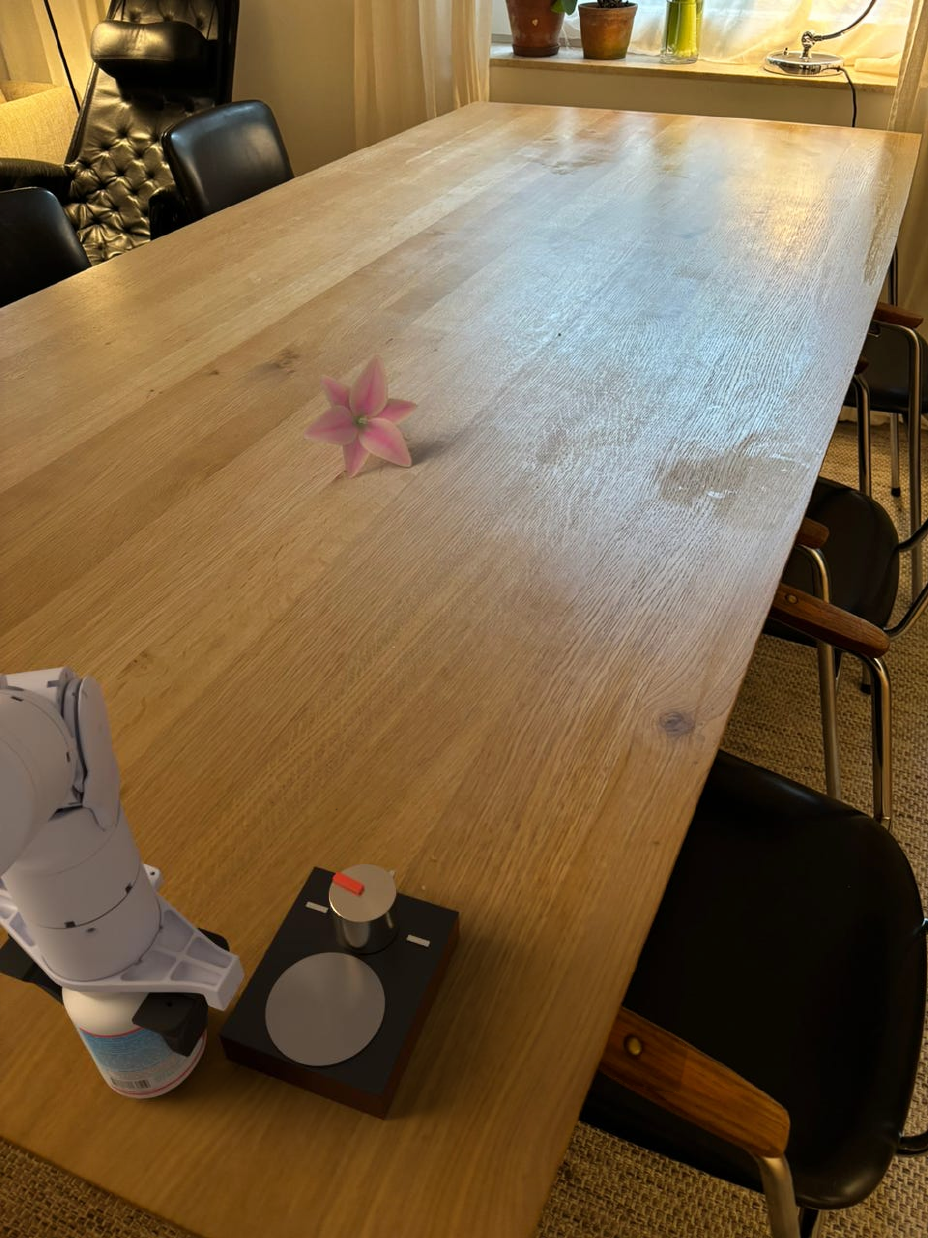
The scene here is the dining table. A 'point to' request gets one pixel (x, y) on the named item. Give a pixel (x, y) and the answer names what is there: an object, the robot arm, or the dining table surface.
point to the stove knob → (364, 908)
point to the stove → (404, 975)
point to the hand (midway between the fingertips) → (142, 1019)
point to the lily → (363, 418)
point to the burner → (325, 1009)
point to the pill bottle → (127, 1044)
